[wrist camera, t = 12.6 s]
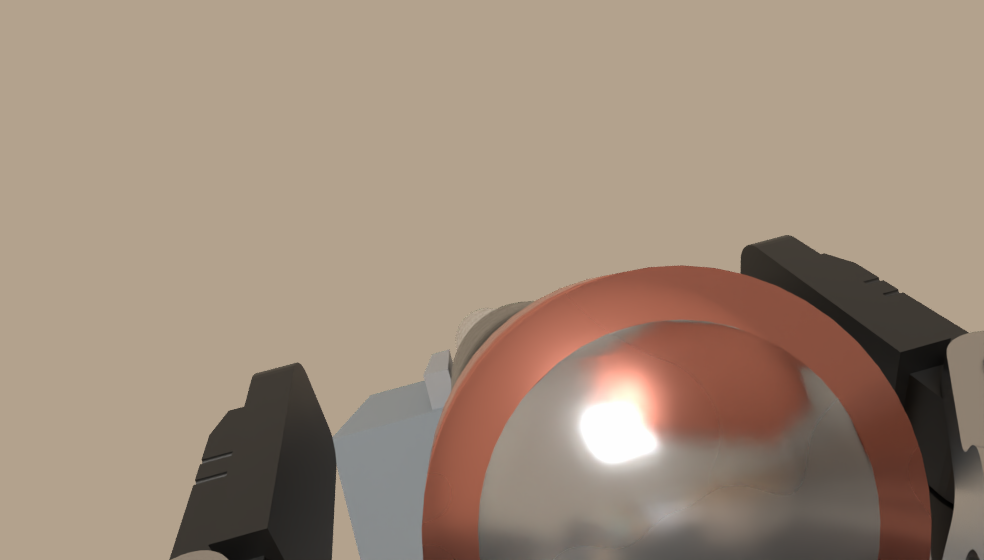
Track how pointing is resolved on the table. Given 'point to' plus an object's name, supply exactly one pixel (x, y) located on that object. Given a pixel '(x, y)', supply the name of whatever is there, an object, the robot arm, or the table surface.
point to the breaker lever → (671, 430)
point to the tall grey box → (392, 463)
